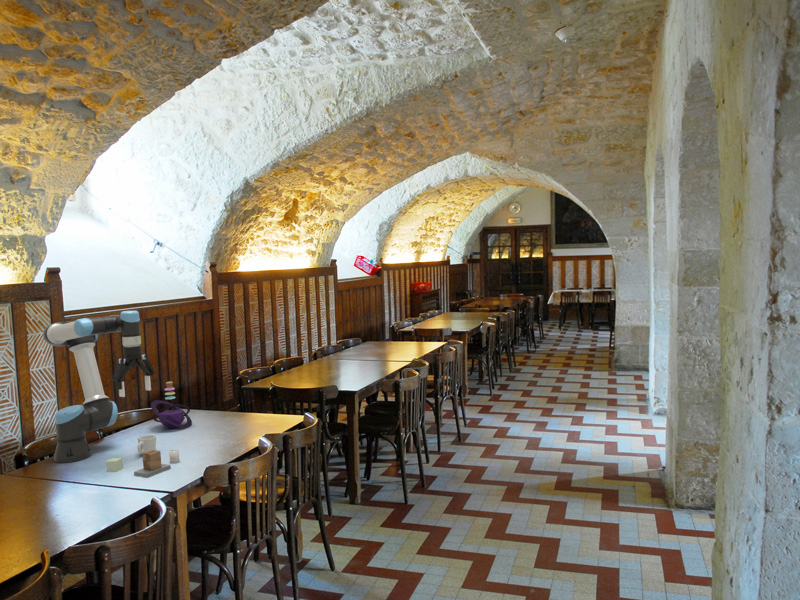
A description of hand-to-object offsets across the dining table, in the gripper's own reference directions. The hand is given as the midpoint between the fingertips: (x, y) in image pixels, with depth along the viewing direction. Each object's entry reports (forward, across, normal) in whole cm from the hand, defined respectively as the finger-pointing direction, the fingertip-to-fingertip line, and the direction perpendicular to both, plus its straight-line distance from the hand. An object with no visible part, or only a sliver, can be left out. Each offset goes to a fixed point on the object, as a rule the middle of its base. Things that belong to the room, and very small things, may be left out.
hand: (135, 393), depth 273 cm
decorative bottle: (+31, +47, +33) cm, 65 cm away
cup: (+31, +8, +6) cm, 32 cm away
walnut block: (+29, -8, -18) cm, 35 cm away
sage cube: (+31, -12, +1) cm, 33 cm away
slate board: (+31, -8, -18) cm, 36 cm away
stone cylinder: (+31, +5, -16) cm, 35 cm away
